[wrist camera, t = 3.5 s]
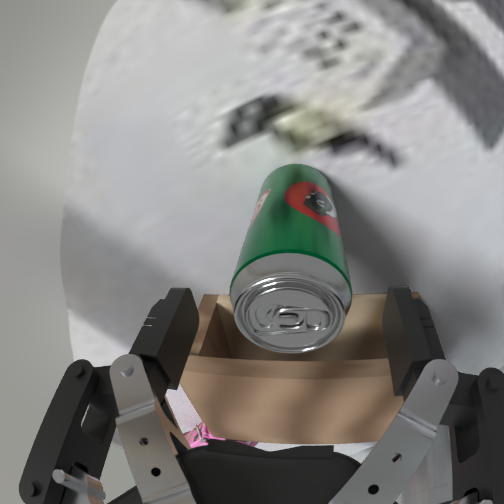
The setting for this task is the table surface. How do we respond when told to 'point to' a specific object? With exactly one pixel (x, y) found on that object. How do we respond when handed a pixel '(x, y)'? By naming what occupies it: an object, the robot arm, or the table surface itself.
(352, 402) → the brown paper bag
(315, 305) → the soda can
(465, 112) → the table surface
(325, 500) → the robot arm
